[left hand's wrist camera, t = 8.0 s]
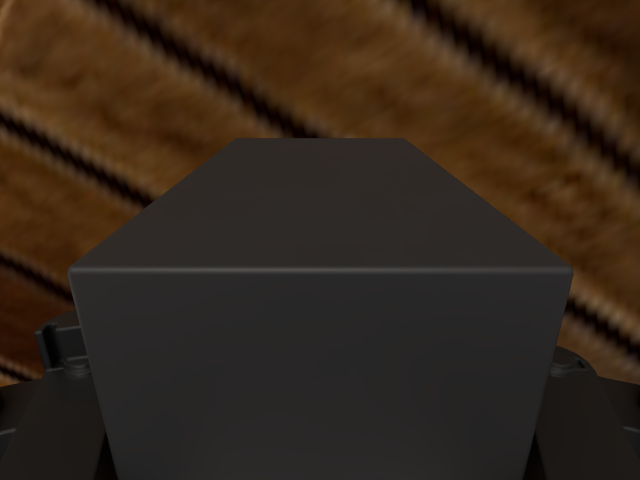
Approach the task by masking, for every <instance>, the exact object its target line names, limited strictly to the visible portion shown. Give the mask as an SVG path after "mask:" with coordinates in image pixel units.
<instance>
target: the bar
mask: <svg viewBox="0 0 640 480" xmlns="http://www.w3.org/2000/svg"><path fill="white" fill-rule="evenodd" d="M572 278H573V269H572V267H571V266H570V265H568V264H567V263H566V262H565V261H563V260H562V259H561V258H559V257H558V256H557V255H555V254H554V253H553V252H551V251H550V250H549V249H548V248H546V247H545V246H544V245H542V244H541V243H540V242H538V241H537V240H536V239H535V238H533V237H532V236H531V235H529V234H528V233H527V232H525V231H524V230H523V229H522V228H520V227H519V226H518V225H516V224H515V223H514V222H512V221H511V220H510V219H508V218H507V217H506V216H505V215H503V214H502V213H501V212H499V211H498V210H497V209H495V208H494V207H493V206H492V205H490V204H489V203H488V202H486V201H485V200H484V199H482V198H481V197H480V196H479V195H477V194H476V193H475V192H473V191H472V190H471V189H469V188H468V187H467V186H465V185H464V184H463V183H462V182H460V181H459V180H458V179H456V178H455V177H454V176H452V175H451V174H450V173H449V172H447V171H446V170H445V169H443V168H442V167H441V166H439V165H438V164H437V163H436V162H434V161H433V160H432V159H430V158H429V157H428V156H426V155H425V154H424V153H422V152H421V151H420V150H419V149H417V148H416V147H415V146H413V145H412V144H411V143H409V142H408V141H407V140H406V139H404V138H237V139H235V140H233V141H232V142H231V143H229V144H228V145H227V146H226V147H224V148H223V149H222V150H220V151H219V152H218V153H216V154H215V155H214V156H213V157H211V158H210V159H209V160H207V161H206V162H205V163H204V164H202V165H201V166H200V167H198V168H197V169H196V170H194V171H193V172H192V173H191V174H189V175H188V176H187V177H185V178H184V179H183V180H181V181H180V182H179V183H178V184H176V185H175V186H174V187H172V188H171V189H170V190H168V191H167V192H166V193H165V194H163V195H162V196H161V197H159V198H158V199H157V200H155V201H154V202H153V203H152V204H150V205H149V206H148V207H146V208H145V209H144V210H142V211H141V212H140V213H139V214H137V215H136V216H135V217H133V218H132V219H131V220H129V221H128V222H127V223H126V224H124V225H123V226H122V227H120V228H119V229H118V230H116V231H115V232H114V233H113V234H111V235H110V236H109V237H107V238H106V239H105V240H103V241H102V242H101V243H100V244H98V245H97V246H96V247H94V248H93V249H92V250H91V251H89V252H88V253H87V254H85V255H84V256H83V257H81V258H80V259H79V260H78V261H76V262H75V263H74V264H72V265H71V266H70V267H69V269H68V279H69V283H70V287H71V291H72V295H73V299H74V303H75V307H76V311H77V315H78V319H79V323H80V327H81V332H82V336H83V340H84V344H85V348H86V352H87V356H88V360H89V364H90V368H91V372H92V376H93V380H94V385H95V389H96V393H97V397H98V401H99V405H100V409H101V413H102V417H103V421H104V425H105V429H106V434H107V438H108V442H109V446H110V450H111V454H112V458H113V462H114V466H115V470H116V474H117V478H118V480H523V477H524V473H525V469H526V465H527V461H528V457H529V453H530V448H531V444H532V440H533V436H534V432H535V428H536V424H537V420H538V416H539V412H540V408H541V404H542V400H543V396H544V392H545V388H546V384H547V379H548V375H549V371H550V367H551V363H552V359H553V355H554V351H555V347H556V343H557V339H558V335H559V331H560V327H561V323H562V319H563V315H564V311H565V306H566V302H567V298H568V294H569V290H570V286H571V282H572Z"/></svg>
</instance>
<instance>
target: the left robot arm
mask: <svg viewBox="0 0 640 480" xmlns="http://www.w3.org/2000/svg"><path fill="white" fill-rule="evenodd" d="M34 335H35V338H36V342H37V345H38V348H39V352H40V355H41V359H42V362H43V365H44V369H45V372H44V374H43V376H42V378H41V379H37V380H33V381H28V382H23V383H18V384H13V385H8V386H3V387H0V480H118V478H117V474H116V470H115V466H114V462H113V458H112V454H111V450H110V446H109V442H108V438H107V434H106V429H105V425H104V421H103V417H102V413H101V409H100V405H99V401H98V397H97V393H96V389H95V385H94V380H93V376H92V372H91V368H90V364H89V360H88V356H87V352H86V348H85V344H84V340H83V336H82V332H81V327H80V323H79V319H78V315H77V311H76V310H75V311H70V312H67V313H64V314H61V315H59V316H56V317H54V318H52V319H50V320H49V321H47V322H45V323H43V324H42V325H41V326H40V327H39V328H38V329H37V330H36V331H35V332H34ZM523 480H640V385H637V384H632V383H627V382H622V381H617V380H612V379H607V378H603V377H599V376H597V374H596V372H595V370H594V369H593V367H592V366H591V365H590V364H589V363H588V361H586V360H585V359H583V358H582V357H580V356H579V355H578V354H576V353H574V352H571V351H569V350H567V349H565V348H562V347H558V346H556V347H555V351H554V355H553V359H552V363H551V367H550V371H549V375H548V379H547V384H546V388H545V392H544V396H543V400H542V404H541V408H540V412H539V416H538V420H537V424H536V428H535V432H534V436H533V440H532V444H531V448H530V453H529V457H528V461H527V465H526V469H525V473H524V477H523Z"/></svg>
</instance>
